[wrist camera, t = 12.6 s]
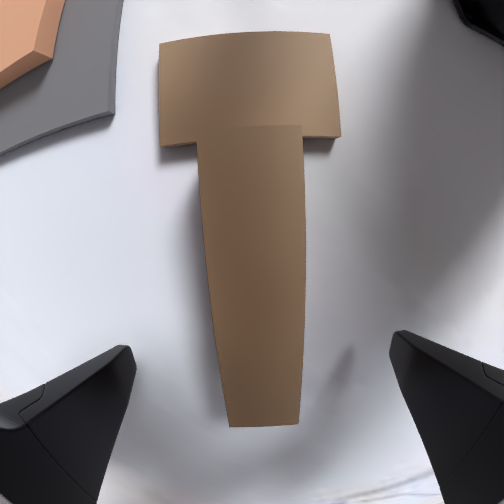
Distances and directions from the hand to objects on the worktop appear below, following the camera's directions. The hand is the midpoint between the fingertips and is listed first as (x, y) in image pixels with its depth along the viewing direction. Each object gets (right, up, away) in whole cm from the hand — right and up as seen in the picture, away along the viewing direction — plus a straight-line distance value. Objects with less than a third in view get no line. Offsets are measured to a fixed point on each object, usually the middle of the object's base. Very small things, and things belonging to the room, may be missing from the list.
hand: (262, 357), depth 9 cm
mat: (-12, +15, -2) cm, 19 cm away
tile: (-12, +11, -2) cm, 16 cm away
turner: (0, +4, +2) cm, 5 cm away
